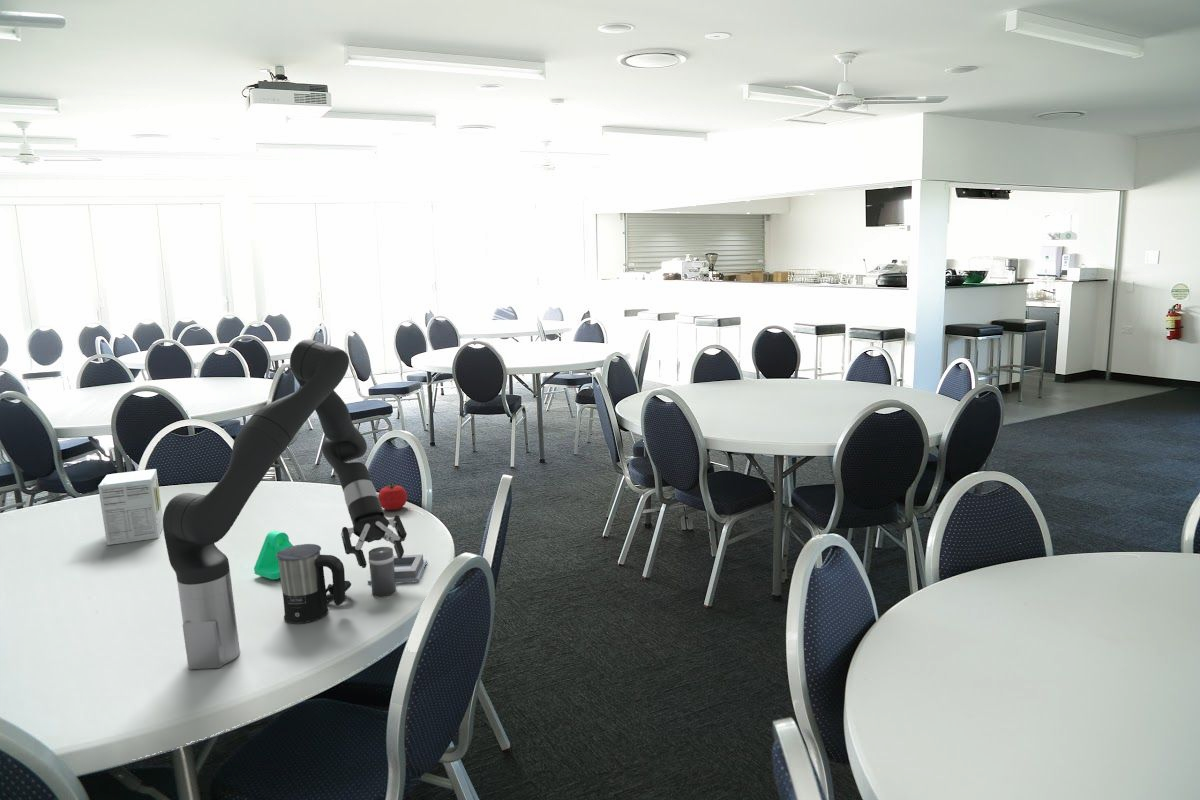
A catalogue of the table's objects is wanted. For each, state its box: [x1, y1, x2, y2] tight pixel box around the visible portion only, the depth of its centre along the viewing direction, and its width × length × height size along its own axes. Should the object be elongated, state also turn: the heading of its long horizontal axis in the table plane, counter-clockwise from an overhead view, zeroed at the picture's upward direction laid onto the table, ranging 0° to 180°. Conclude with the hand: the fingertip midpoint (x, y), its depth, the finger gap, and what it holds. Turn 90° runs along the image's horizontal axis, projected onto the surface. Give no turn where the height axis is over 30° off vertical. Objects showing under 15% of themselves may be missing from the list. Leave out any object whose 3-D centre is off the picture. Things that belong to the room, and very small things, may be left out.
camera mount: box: [253, 530, 294, 580], centre depth 202 cm, size 12×8×10 cm, turn 147°
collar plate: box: [367, 554, 428, 585], centre depth 199 cm, size 12×12×2 cm
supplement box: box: [97, 468, 164, 546], centre depth 233 cm, size 13×13×18 cm
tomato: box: [378, 483, 408, 511], centre depth 249 cm, size 9×9×8 cm
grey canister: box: [368, 546, 397, 598], centre depth 188 cm, size 6×6×10 cm
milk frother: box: [276, 543, 352, 625], centre depth 180 cm, size 14×16×15 cm
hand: (382, 561), depth 189 cm, fingers open, 8 cm apart
